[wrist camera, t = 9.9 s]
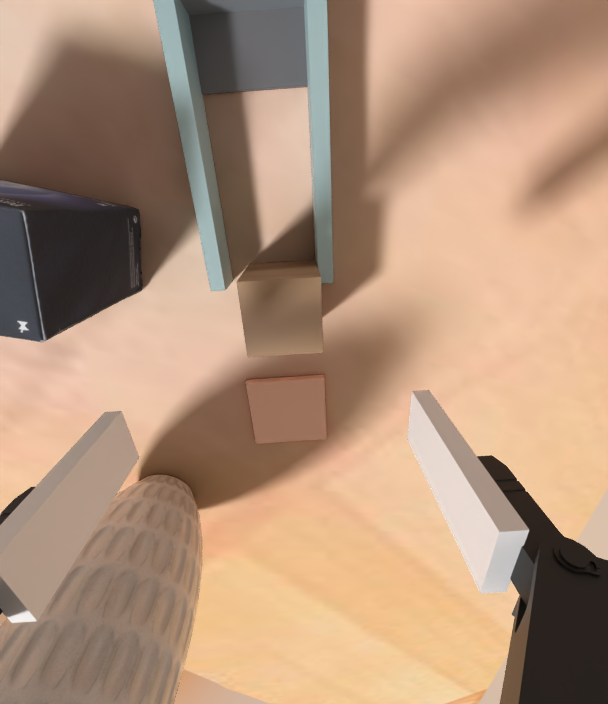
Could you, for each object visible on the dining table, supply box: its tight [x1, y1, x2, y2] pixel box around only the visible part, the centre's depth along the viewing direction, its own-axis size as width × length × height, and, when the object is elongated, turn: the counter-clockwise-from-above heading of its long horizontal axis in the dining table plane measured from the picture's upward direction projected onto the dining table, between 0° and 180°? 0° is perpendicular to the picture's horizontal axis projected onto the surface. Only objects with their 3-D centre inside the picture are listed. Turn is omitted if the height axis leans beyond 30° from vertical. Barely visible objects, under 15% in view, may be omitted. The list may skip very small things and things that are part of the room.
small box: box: [0, 180, 142, 342], centre depth 18 cm, size 11×6×10 cm, turn 79°
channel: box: [153, 0, 333, 291], centre depth 18 cm, size 16×8×5 cm, turn 4°
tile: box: [246, 375, 327, 444], centre depth 29 cm, size 7×7×1 cm
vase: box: [0, 475, 202, 704], centre depth 22 cm, size 13×13×28 cm
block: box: [237, 260, 323, 357], centre depth 22 cm, size 5×5×6 cm
